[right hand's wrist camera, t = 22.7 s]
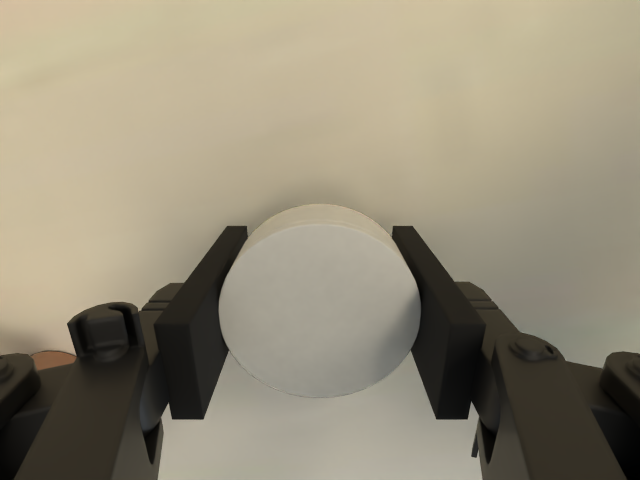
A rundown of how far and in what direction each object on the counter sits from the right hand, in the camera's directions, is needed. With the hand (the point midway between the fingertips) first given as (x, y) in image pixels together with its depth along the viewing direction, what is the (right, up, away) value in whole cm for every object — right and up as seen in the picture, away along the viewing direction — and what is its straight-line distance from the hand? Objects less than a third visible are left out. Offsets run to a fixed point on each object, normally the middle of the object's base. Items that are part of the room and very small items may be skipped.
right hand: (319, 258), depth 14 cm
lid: (0, -1, -4) cm, 4 cm away
